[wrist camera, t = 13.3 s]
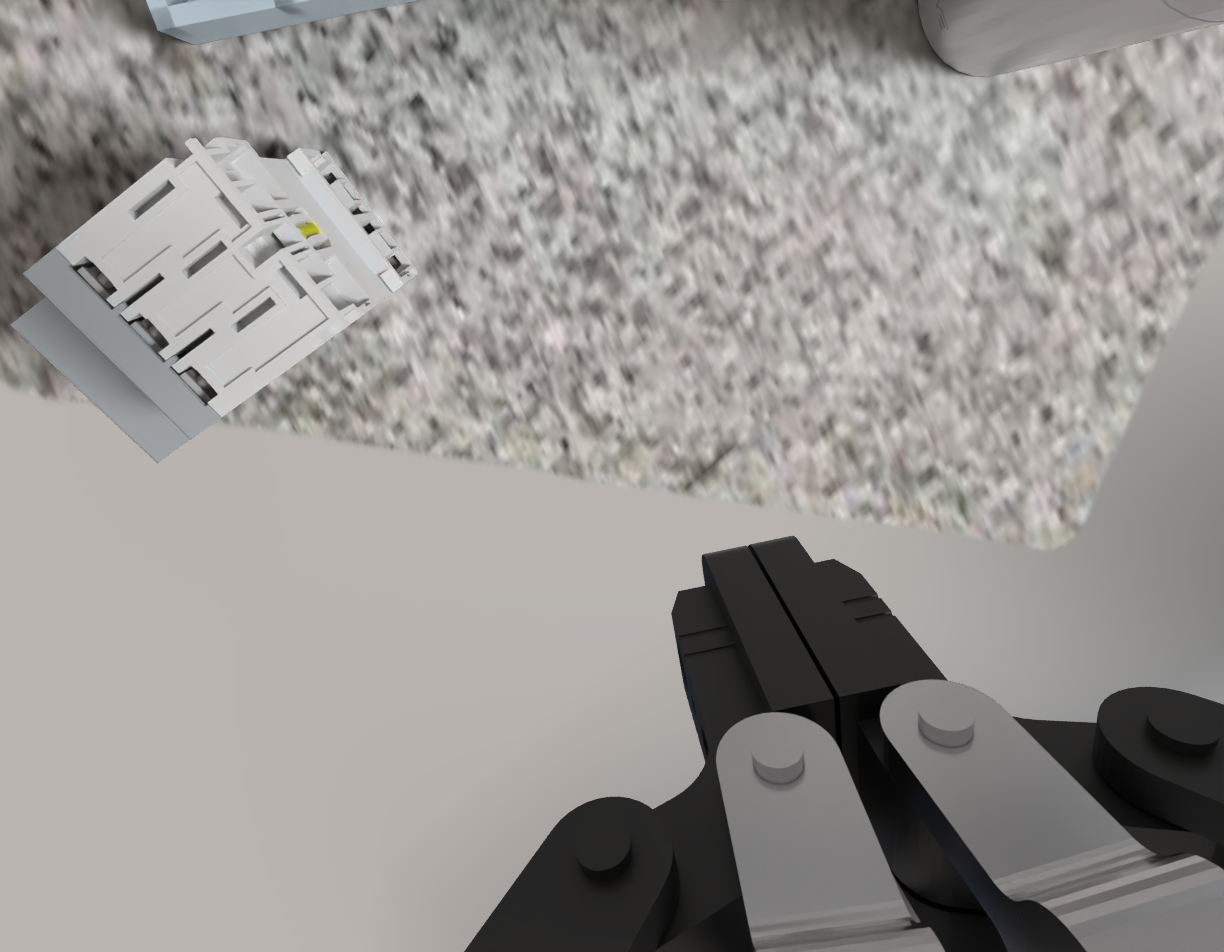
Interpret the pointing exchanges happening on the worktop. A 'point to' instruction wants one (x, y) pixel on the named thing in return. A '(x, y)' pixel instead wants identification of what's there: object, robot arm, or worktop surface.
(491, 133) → the worktop surface
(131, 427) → the circuit breaker
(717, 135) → the worktop surface
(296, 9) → the rack
